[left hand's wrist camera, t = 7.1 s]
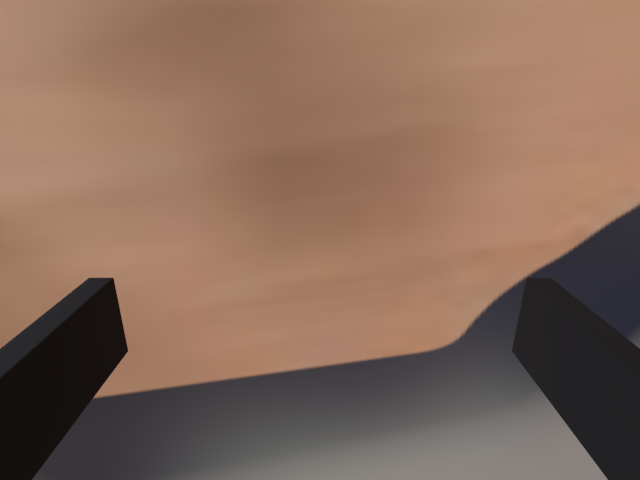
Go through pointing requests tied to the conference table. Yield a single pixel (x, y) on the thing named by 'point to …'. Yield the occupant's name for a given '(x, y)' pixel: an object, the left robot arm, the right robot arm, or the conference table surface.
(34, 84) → the conference table surface
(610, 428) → the left robot arm
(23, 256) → the conference table surface
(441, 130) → the conference table surface
